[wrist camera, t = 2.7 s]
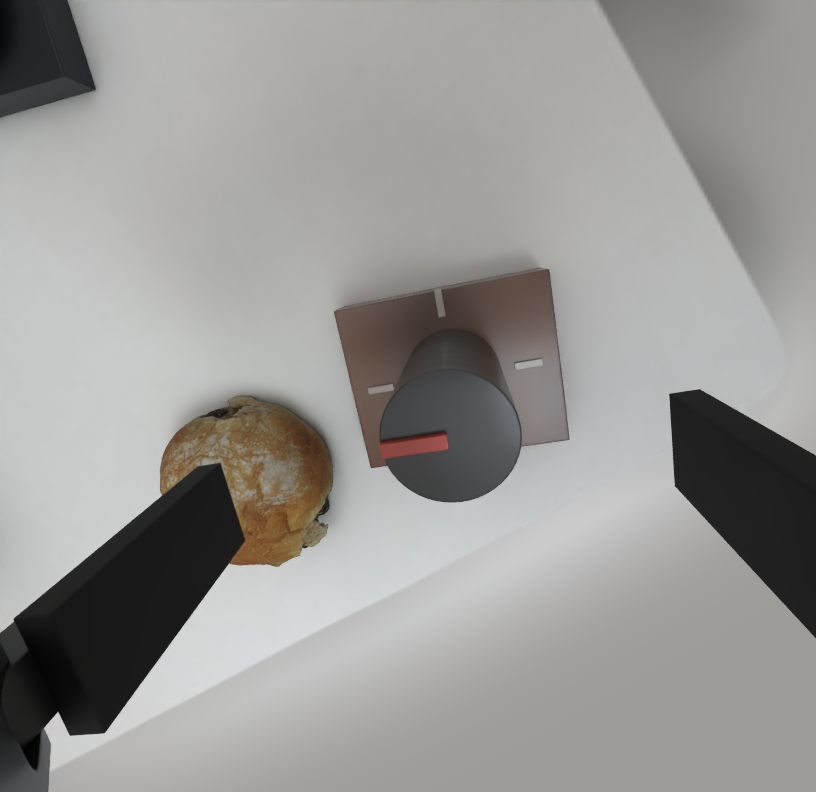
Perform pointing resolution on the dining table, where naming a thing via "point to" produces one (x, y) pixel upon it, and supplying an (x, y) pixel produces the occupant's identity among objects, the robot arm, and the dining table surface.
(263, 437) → the bread roll
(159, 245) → the dining table surface
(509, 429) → the dial
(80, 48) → the button box
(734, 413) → the robot arm
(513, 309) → the dial panel
